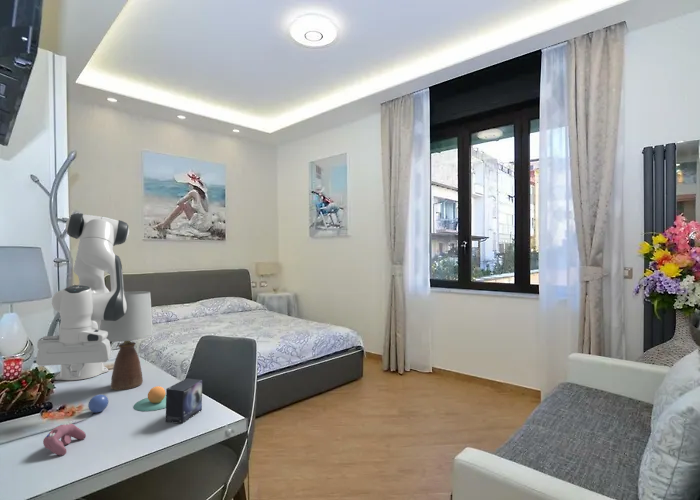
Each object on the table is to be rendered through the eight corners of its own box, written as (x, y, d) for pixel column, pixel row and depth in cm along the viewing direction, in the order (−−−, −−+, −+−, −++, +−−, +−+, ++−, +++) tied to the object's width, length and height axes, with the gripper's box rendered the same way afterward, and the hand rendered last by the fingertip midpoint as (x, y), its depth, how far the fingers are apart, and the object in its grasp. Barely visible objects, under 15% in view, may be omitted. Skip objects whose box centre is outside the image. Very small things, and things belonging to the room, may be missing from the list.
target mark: (131, 401, 133) (131, 400, 133) (174, 392, 141) (174, 392, 141) (135, 414, 121) (135, 414, 121) (181, 404, 129) (181, 404, 129)
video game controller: (73, 444, 106) (61, 422, 105) (88, 436, 106) (77, 414, 106) (48, 463, 96) (35, 439, 96) (65, 454, 96) (52, 431, 96)
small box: (183, 424, 114) (183, 390, 114) (164, 422, 116) (164, 388, 116) (203, 410, 125) (203, 379, 125) (186, 408, 126) (186, 377, 126)
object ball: (169, 396, 134) (154, 405, 133) (162, 382, 135) (147, 391, 133) (166, 398, 129) (150, 407, 127) (159, 384, 130) (142, 393, 128)
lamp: (87, 390, 143) (88, 294, 144) (131, 375, 161) (131, 290, 161) (121, 396, 137) (122, 296, 137) (163, 380, 154) (163, 291, 155)
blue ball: (105, 389, 124) (115, 400, 127) (92, 392, 126) (102, 404, 128) (93, 402, 119) (104, 414, 122) (80, 406, 121) (91, 417, 123)
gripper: (32, 338, 117) (31, 382, 116) (107, 335, 123) (106, 377, 123) (42, 334, 123) (40, 376, 122) (113, 331, 129) (111, 371, 129)
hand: (74, 376), depth 123 cm, fingers closed
